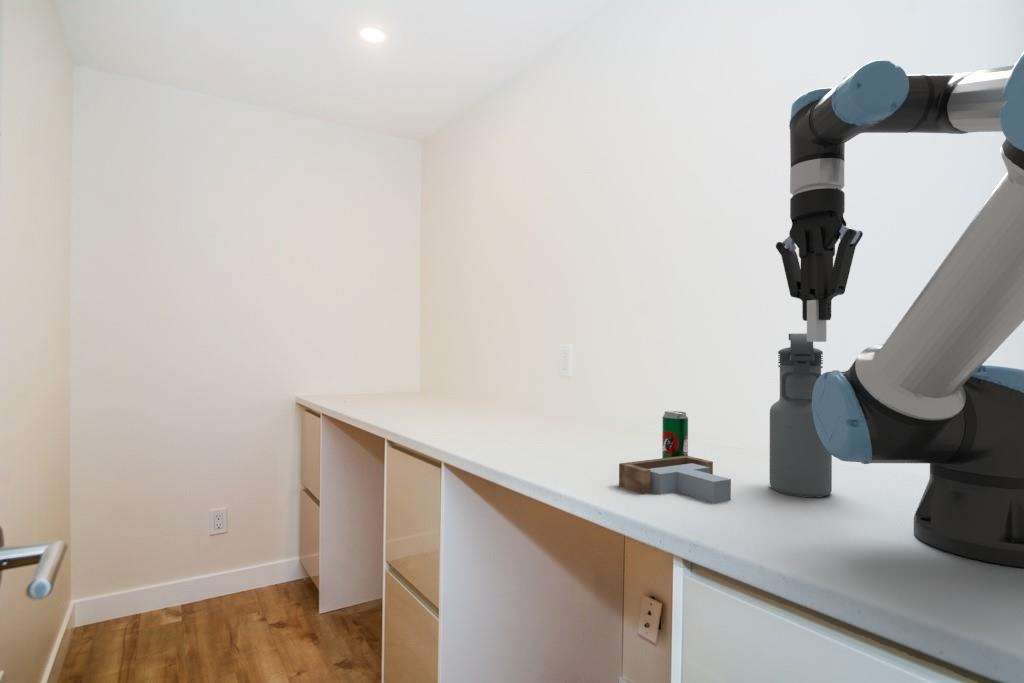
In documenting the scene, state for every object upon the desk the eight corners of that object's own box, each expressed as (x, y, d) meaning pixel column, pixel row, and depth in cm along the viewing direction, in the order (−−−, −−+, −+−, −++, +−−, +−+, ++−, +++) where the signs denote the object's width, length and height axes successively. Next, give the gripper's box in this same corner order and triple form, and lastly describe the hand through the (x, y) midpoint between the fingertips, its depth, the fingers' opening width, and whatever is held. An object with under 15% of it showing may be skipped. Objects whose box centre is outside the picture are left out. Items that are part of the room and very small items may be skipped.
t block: (696, 506, 86) (696, 484, 86) (644, 489, 96) (644, 469, 96) (746, 497, 91) (746, 476, 92) (692, 481, 102) (692, 463, 102)
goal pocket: (712, 483, 101) (712, 461, 101) (643, 493, 93) (643, 470, 93) (686, 475, 107) (686, 455, 107) (619, 485, 98) (619, 463, 99)
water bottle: (835, 501, 89) (835, 332, 89) (769, 494, 93) (770, 332, 94) (828, 487, 98) (828, 334, 99) (769, 481, 102) (769, 334, 103)
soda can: (689, 473, 108) (689, 414, 108) (663, 472, 109) (663, 413, 109) (686, 468, 113) (686, 411, 113) (661, 467, 114) (661, 410, 114)
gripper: (873, 186, 82) (873, 341, 81) (793, 205, 93) (793, 342, 93) (844, 178, 78) (844, 340, 78) (764, 199, 90) (764, 341, 89)
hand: (816, 341), depth 85 cm, fingers closed
